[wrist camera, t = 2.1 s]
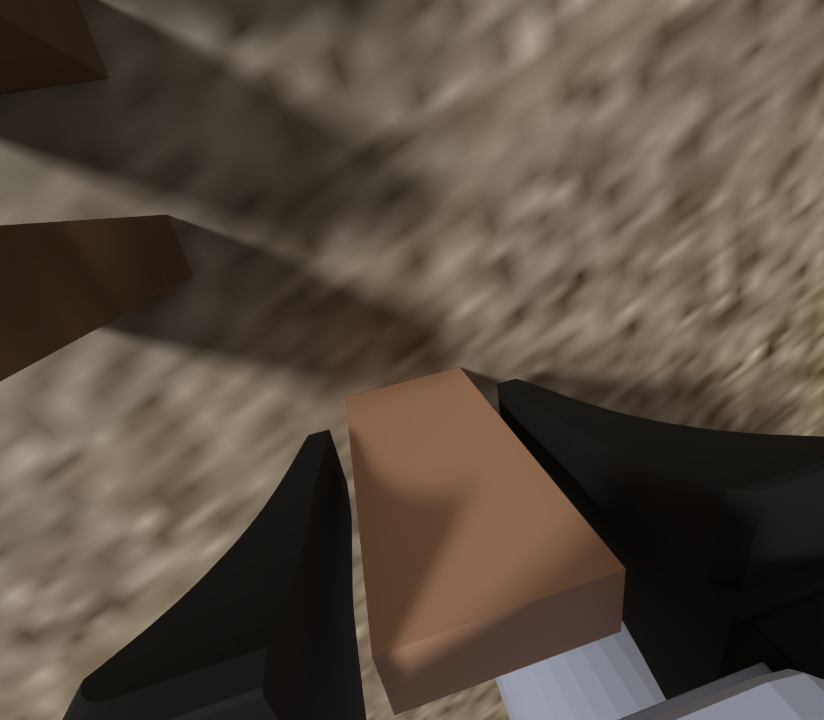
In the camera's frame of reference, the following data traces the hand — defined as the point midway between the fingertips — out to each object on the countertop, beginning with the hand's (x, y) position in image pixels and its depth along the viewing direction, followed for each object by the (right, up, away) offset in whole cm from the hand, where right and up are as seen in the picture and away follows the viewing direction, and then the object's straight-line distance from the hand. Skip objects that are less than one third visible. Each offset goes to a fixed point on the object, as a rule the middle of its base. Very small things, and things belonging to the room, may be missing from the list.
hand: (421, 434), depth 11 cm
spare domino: (0, +1, +2) cm, 2 cm away
